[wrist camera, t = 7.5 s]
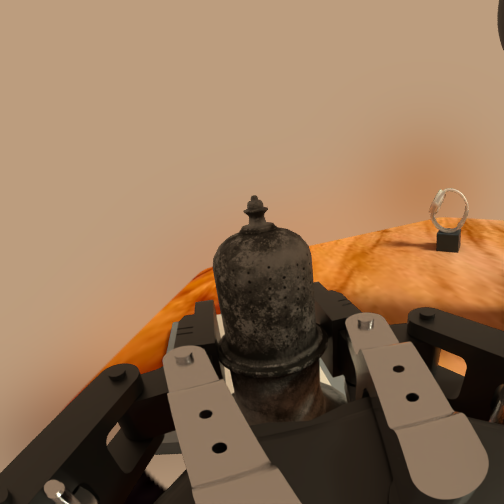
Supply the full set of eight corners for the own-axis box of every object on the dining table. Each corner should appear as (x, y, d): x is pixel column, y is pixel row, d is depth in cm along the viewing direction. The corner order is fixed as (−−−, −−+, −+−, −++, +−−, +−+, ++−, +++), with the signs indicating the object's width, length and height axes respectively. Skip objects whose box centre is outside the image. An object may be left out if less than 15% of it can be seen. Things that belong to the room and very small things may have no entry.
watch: (431, 242, 54) (430, 187, 52) (468, 245, 49) (468, 188, 46) (426, 250, 51) (425, 189, 48) (466, 253, 45) (467, 190, 42)
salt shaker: (207, 451, 13) (142, 208, 10) (309, 412, 15) (292, 183, 12) (252, 540, 8) (158, 227, 5) (376, 479, 10) (407, 185, 7)
